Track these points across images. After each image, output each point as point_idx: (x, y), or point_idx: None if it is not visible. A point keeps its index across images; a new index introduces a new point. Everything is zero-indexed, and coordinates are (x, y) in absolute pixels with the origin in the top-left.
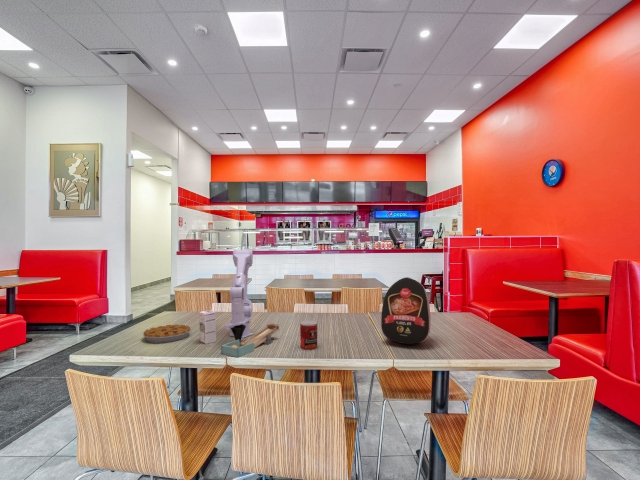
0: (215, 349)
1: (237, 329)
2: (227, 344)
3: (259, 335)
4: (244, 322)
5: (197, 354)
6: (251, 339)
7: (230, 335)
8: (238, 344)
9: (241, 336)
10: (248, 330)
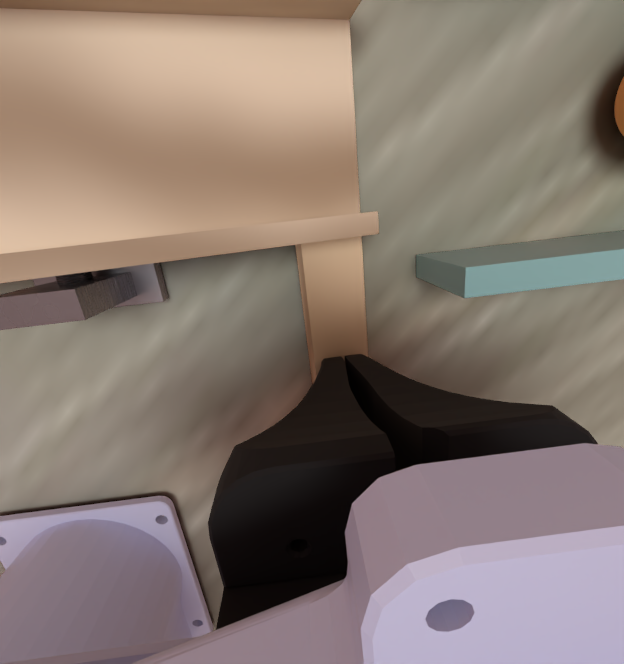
0: (577, 409)
1: (574, 428)
2: None
3: (15, 230)
4: (515, 575)
5: None
6: (228, 227)
7: (210, 620)
8: (454, 256)
9: (329, 375)
10: (19, 576)
